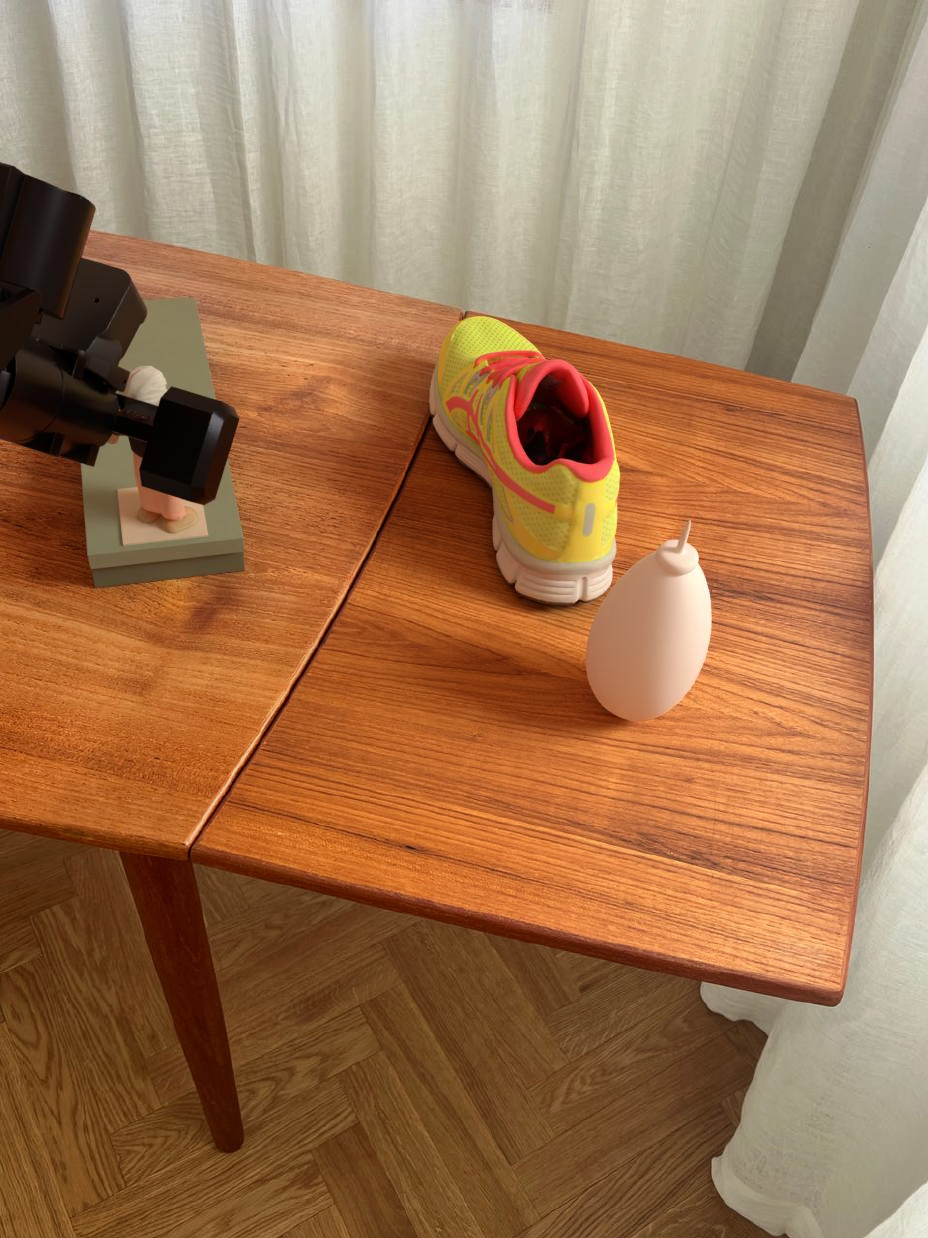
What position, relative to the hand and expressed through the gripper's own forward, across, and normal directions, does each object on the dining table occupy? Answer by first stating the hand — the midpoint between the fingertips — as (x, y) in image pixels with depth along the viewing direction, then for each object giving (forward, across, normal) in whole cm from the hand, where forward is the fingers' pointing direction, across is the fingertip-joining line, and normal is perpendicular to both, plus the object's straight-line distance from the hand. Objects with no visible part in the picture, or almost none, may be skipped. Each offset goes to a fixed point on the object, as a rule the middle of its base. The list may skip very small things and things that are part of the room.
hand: (142, 435), depth 76 cm
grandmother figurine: (+6, 0, +5) cm, 8 cm away
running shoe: (+23, -22, -6) cm, 33 cm away
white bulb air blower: (+10, -37, +8) cm, 39 cm away
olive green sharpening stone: (+17, +7, 0) cm, 18 cm away
